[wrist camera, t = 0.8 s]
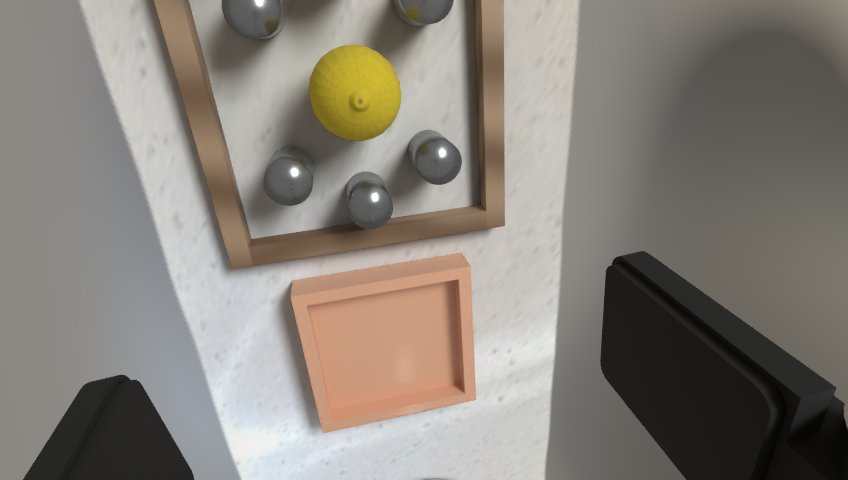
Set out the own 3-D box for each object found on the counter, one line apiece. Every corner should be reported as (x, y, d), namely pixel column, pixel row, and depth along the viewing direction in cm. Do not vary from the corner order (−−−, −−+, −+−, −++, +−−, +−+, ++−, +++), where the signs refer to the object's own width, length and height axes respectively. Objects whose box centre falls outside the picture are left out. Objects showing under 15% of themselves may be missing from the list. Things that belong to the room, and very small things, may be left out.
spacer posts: (450, 197, 36) (463, 215, 32) (282, 222, 34) (277, 243, 30) (434, -73, 28) (450, -89, 25) (218, -62, 27) (201, -78, 23)
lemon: (404, 105, 32) (428, 123, 25) (336, 142, 33) (341, 170, 25) (367, 28, 30) (381, 25, 23) (294, 68, 30) (285, 77, 23)
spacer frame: (498, 219, 38) (504, 225, 36) (235, 260, 34) (232, 268, 33) (494, -125, 28) (502, -133, 27) (129, -112, 25) (118, -121, 24)
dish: (468, 381, 44) (475, 399, 42) (322, 412, 42) (322, 433, 40) (461, 252, 38) (470, 266, 36) (292, 280, 36) (290, 296, 34)
